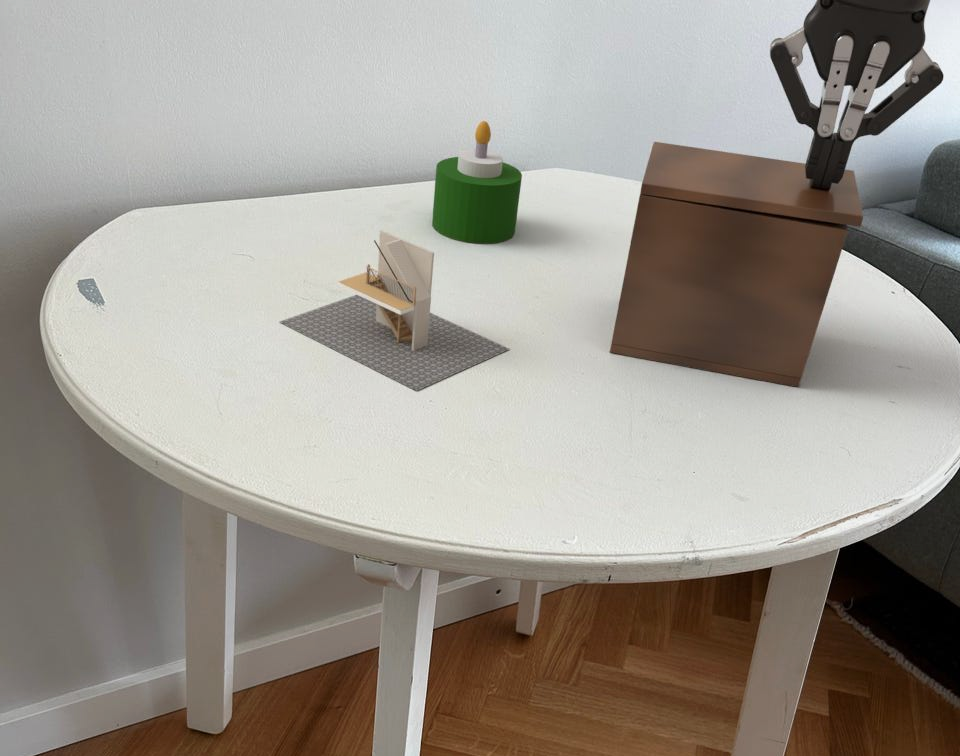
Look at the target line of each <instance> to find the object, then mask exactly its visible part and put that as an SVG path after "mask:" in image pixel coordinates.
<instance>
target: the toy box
mask: <svg viewBox="0 0 960 756" xmlns="http://www.w3.org/2000/svg"><path fill="white" fill-rule="evenodd" d="M848 232H849V231H848V225H844V224H838V223H831V222H824V221H818V220H811V219H804V218H798V217H791V216H784V215H778V214H771V213H764V212H758V211H751V210H745V209H738V208H731V207H725V206H718V205H711V204H705V203H698V202H691V201H685V200H678V199H671V198H665V197H658V196H652V195H645V194H641V193H639V197H638V202H637V208H636V213H635V218H634V223H633V229H632V234H631V238H630V243H629V249H628V254H627V260H626V265H625V270H624V275H623V281H622V286H621V290H620V295H619V301H618V307H617V311H616V312H617V313H616V316H615V323H614V328H613V333H612V338H611V342H610V343H611V344H610V348H609V353H611V354H616V355H623V356H627V357H632V358H639V359H643V360H648V361H649V360H650V361H655V362H661V363H665V364H670V365H675V366H682V367H687V368H692V369H697V370H702V371H707V372H708V371H709V372H714V373H719V374H724V375H725V374H726V375H729V376H736V377H740V378H745V379H746V378H747V379H752V380H757V381H763V382H769V383H773V384H777V385H778V384H779V385H784V386H791V387H795V388H799V387H800V384H801V381H802V378H803V374H804V372H805V369H806V365H807V362H808V359H809V356H810V353H811V350H812V346H813V343H814V341H815V336H816V333H817V331H818V327H819V323H820V321H821V318H822V315H823V311H824V308H825V305H826V302H827V298H828V295H829V292H830V289H831V285H832V284H833V279H834V276H835V273H836V270H837V266H838V264H839V261H840V257H841V254H842V251H843V247H844V244H845V241H846V239H847V235H848Z"/></svg>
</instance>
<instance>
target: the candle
mask: <svg viewBox="0 0 960 756" xmlns="http://www.w3.org/2000/svg"><path fill="white" fill-rule="evenodd" d="M491 137H492V132H491V127H490V124H489V122H487V121H486V120H482V121H481V122H480V123H478V124H477V127H476V129H475V133H474V138H475V141H476V143H475V149H464V150H461V151H459V152H458V156H455V157H449V158H448V157H447V158H444V159H441V160H440V161H438V162H437V164H436V166H435V167H436V168H435V179H434V180H435V181H434V193H433V207H432V208H433V209H432V218H431V219H432V221H431V225H432V228H433V229H434V230H435V231H436V232H437V233H439V234H440V235H442V236H443V237H447V238H449V239H451V240H456V241H459V242H463V243H464V242H465V243H471V244H497V243H502V242H505V241H509V240H510V239H512V238H513V237H515V234H516V228H517V227H516V226H517V218H518V211H519V203H520V196H521V194H520V193H521V187H522V179H523V175H522V172H521V171H520V170H519V169H518V168H516V167H515V166H513V165H511V164H510V163H507V162H504V158H503V157H502V156H501V155H500V154H499V153H496V152H494V151H493V152H492V151H489V150H488V147H489V142H490V141H491Z"/></svg>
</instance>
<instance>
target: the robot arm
mask: <svg viewBox="0 0 960 756" xmlns="http://www.w3.org/2000/svg"><path fill="white" fill-rule="evenodd" d="M930 3H931V0H816V2H815V3H814V4H813V7H812V8H811V9H810V10H809V12H808V13H807V14H806V16H805V18H804V21H803V26H802V27H800V28H798V29H797V30H795V31H794V32H792V33H790V34H788V35H787V36H785V37H783V38H782V37H777V38H775V39H773V40H772V41H771V43H770V45H769V57H770V60H771V63H772V65H773V67H774V70H775V72H776V74H777V76H778V79H779V82H780V84H781V87H782V88H783V91H784V93H785V96H786V98H787V101H788V103H789V105H790V108H791V110H792V113H793V116H794V118H795V120H796V122H797V123H798V124H800V125H805V126H807V127H808V128H810V129H811V130H813V136H812V139H811V143H810V147H809V150H808V154H807V157H806V160H805V172H806V178H807V179H810V187H811V188H817V189H823V190H828V191H829V190H830V188H831V184H832V183H836V184H838V183H839V182H840V180H841V179H842V178H843V174H844V171H845V169H847V164H848V160H849V157H850V154H851V151H852V147H853V144H854V143H855V142H856V140H858V139H859V138H861V137H866V136H872V137H874V136H875V137H876V136H879V135H881V134H882V133H883V132H884V131H886V130H887V129H888V128H889V127H891V125H893V124H894V123H895V122H896V121H898V120H899V119H900V118H901V117H902V116H904V115H905V114H906V113H907V112H909V111H910V110H911V109H912V108H913V107H915V106H916V105H917V104H918V103H920V102H921V101H922V100H923V99H924V98H925V97H927V96H928V95H929V94H930V93H932V92H933V91H934V90H935V89H936V88H938V87H939V86H940V85H941V84H942V82H943V81H944V72H943V70H942V69H941V67H940V65H939V64H938V63H937V62H936V61H933V60H932V58H931V57H930V56H929V54H928V53H927V51H926V49H925V48H924V46H925V43H926V37H927V36H926V30H925V19H926V16H927V11H928V9H929V5H930ZM806 44H807V46H808V49H809V52H810V55H811V58H812V60H813V63H814V66H815V69H816V71H817V74H818V76H819V78H820V79H821V80H822V81H823V83H822V87H821V95H820V100H819V105H818V106H817V105H816V104H814V103H813V102H811V100H810V97H809V95H808V92H807V90H806V87H805V85H804V82H803V80H802V78H801V75H800V72H799V70H798V67H799V66H801V64H802V63H803V62H804V61H803V60H804V53H803V49H804V47H805V45H806ZM909 63H910V65H909V67H907V69H906V70H905V71H904V74H903V75H904V76H903V77H904V82H903V83H902V84H900V85H899V86H898V87H896V88H895V90H894V91H892V92H891V93H890V94H889V95H887V96H886V97H885V98H883V100H881V101H880V102H879V103H878V104H877V105H876V106H874V107H873V108H872V109H871V110H869V112H866V110H868V108H869V106H870V103H871V100H872V97H873V95H874V92H875V90H877V89H879V88H881V87H882V86H885V84H887V83H888V81H890V80H891V79H893V77H894V76H896V74H898V72H900V71H901V70H902V69H903V68H904V67H905V66H906V65H908V64H909ZM848 86H850V88H849V91H848V94H847V98H846V102H845V105H844V107H843V110H842V113H841V115H840V118H839V121H838V128H837V130H836V132H834V131H835V127H836V122H837V118H838V112H839V108H840V105H841V102H842V97H843V94H844V89H845V87H848Z"/></svg>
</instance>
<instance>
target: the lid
mask: <svg viewBox="0 0 960 756" xmlns="http://www.w3.org/2000/svg"><path fill="white" fill-rule="evenodd" d="M805 164H806V162H805V163H804V162H797V161H791V160H790V161H789V160H783V159H777V158H769V157H764V156H756V155H749V154H743V153H735V152H729V151H721V150H715V149H708V148H702V147H694V146H688V145H681V144H673V143H666V142H659V141H654V142H653V143H652V147H651V150H650V153H649V157H648V161H647V165H646V168H645V172H644V175H643V179H642V182H641V186H640V193H641V194H645V195H652V196H658V197H665V198H671V199H678V200H685V201H691V202H698V203H705V204H711V205H718V206H725V207H731V208H738V209H745V210H751V211H758V212H764V213H771V214H778V215H784V216H791V217H798V218H804V219H811V220H818V221H824V222H831V223H838V224H844V225H847V226H852V227H858V228H859V227H861V226H862V222H863V220H864V212H863V208H862V203H861V199H860V194H859V189H858V184H857V179H856V174H855V171H854V170H852V169H847V168H845V171H844V174H843V178H842V179H841V180H840V182H839V183H838V184H836V183H832V184H831V188H830V190H829V191H828V190H823V189H817V188H811V187H810V179H807V178H806V172H805ZM640 193H639V194H640Z"/></svg>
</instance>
